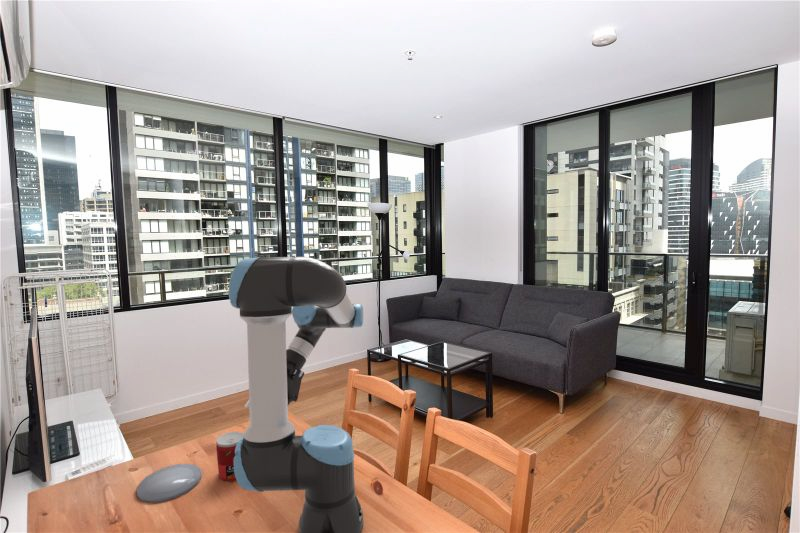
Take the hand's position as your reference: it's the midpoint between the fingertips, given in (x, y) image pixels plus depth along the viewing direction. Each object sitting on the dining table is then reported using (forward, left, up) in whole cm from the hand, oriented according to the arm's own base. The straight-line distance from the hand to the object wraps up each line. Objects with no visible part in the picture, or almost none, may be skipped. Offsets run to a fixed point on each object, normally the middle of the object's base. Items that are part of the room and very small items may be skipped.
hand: (260, 414), depth 128 cm
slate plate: (+8, +24, -14) cm, 29 cm away
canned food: (-1, +10, -14) cm, 18 cm away
